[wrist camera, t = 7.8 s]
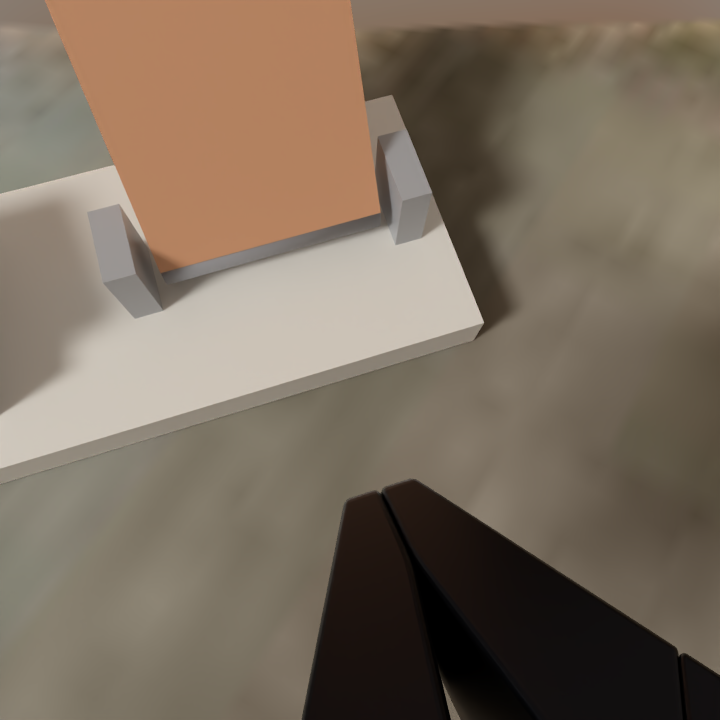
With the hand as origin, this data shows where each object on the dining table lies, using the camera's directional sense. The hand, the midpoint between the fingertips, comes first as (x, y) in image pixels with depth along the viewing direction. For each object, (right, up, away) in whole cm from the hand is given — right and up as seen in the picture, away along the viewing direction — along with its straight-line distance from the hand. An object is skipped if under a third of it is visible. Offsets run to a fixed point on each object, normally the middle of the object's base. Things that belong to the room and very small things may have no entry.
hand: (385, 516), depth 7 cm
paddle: (-3, +5, +10) cm, 12 cm away
